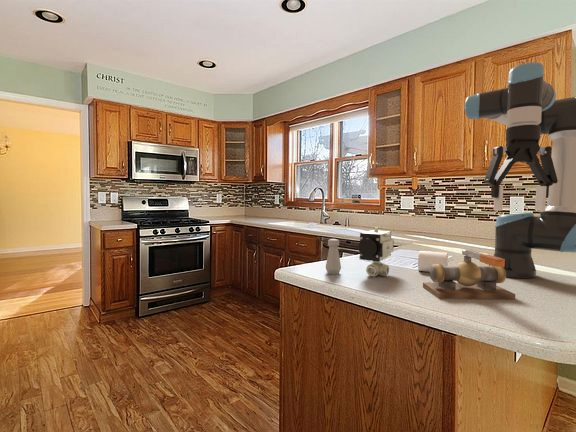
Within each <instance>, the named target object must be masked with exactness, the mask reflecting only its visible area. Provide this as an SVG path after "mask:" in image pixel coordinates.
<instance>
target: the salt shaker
mask: <svg viewBox="0 0 576 432" xmlns="http://www.w3.org/2000/svg"><path fill="white" fill-rule="evenodd" d="M327 245H328V246H329V248H328V252H327V258H326V263H325V270H326V273H327V274H328V275H333V276H334V275H335V276H336V275H339V274H340V271H341V269H342V265H341V259H340V253H339V246H340V240H339V239H336V238H329V239H328V240H327Z"/></svg>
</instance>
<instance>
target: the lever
mask: <svg viewBox="0 0 576 432" xmlns="http://www.w3.org/2000/svg"><path fill="white" fill-rule="evenodd" d="M461 255H463V256H469V257H471V259H475V260H478V261H479V263H483V264H485V265H487V266H489V265H491V266H493V267H504V264H505V259H502V258H499V257H496V256H493V255H494V254H489V253H488V254H485V253H483V252H479V251H477V250H473V249H461Z"/></svg>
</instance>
